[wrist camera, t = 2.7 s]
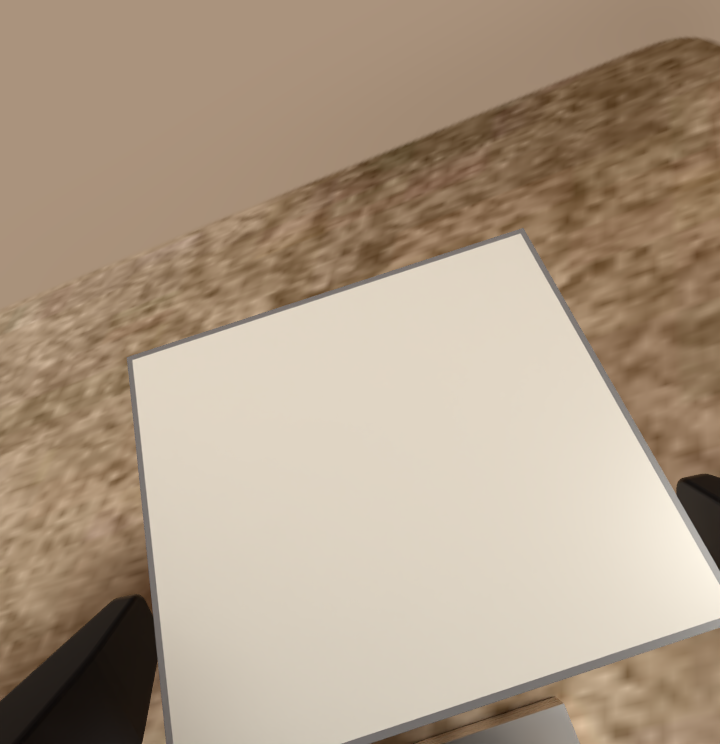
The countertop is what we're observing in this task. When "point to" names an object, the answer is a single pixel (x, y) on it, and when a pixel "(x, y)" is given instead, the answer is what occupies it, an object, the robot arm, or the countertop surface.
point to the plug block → (400, 508)
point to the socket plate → (517, 727)
